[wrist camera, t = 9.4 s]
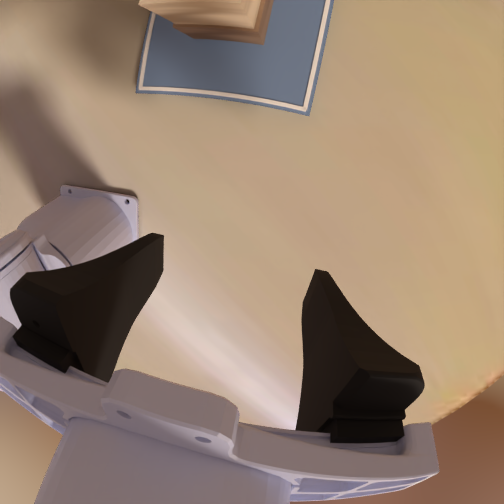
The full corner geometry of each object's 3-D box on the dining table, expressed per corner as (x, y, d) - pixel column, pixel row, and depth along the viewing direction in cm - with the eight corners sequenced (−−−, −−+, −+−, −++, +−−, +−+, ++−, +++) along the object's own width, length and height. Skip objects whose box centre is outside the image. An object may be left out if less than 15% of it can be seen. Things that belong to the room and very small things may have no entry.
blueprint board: (141, 92, 18) (106, 95, 14) (175, -50, 11) (150, -73, 7) (308, 115, 18) (314, 119, 14) (339, -37, 11) (351, -66, 7)
